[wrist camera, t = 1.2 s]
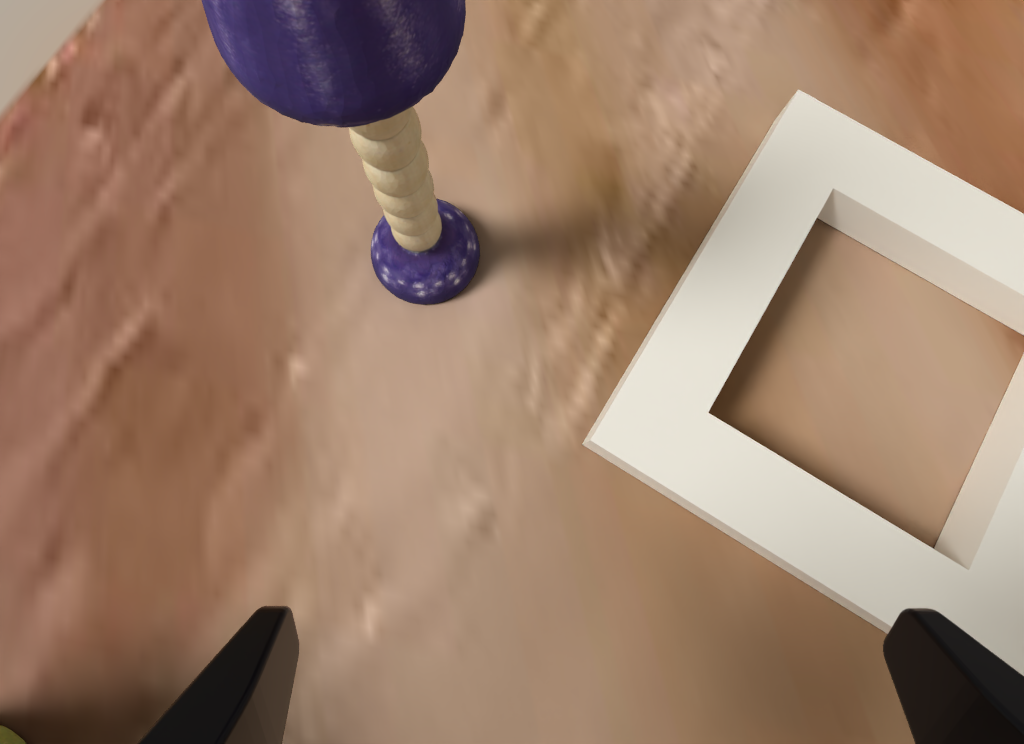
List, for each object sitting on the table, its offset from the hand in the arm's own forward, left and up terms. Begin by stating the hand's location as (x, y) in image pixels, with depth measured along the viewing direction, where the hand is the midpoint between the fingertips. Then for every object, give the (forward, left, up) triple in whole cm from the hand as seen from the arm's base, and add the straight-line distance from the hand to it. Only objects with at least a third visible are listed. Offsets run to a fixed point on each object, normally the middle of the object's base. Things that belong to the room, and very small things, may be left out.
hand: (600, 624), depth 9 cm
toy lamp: (0, +12, -14) cm, 18 cm away
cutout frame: (+14, +1, -13) cm, 19 cm away
